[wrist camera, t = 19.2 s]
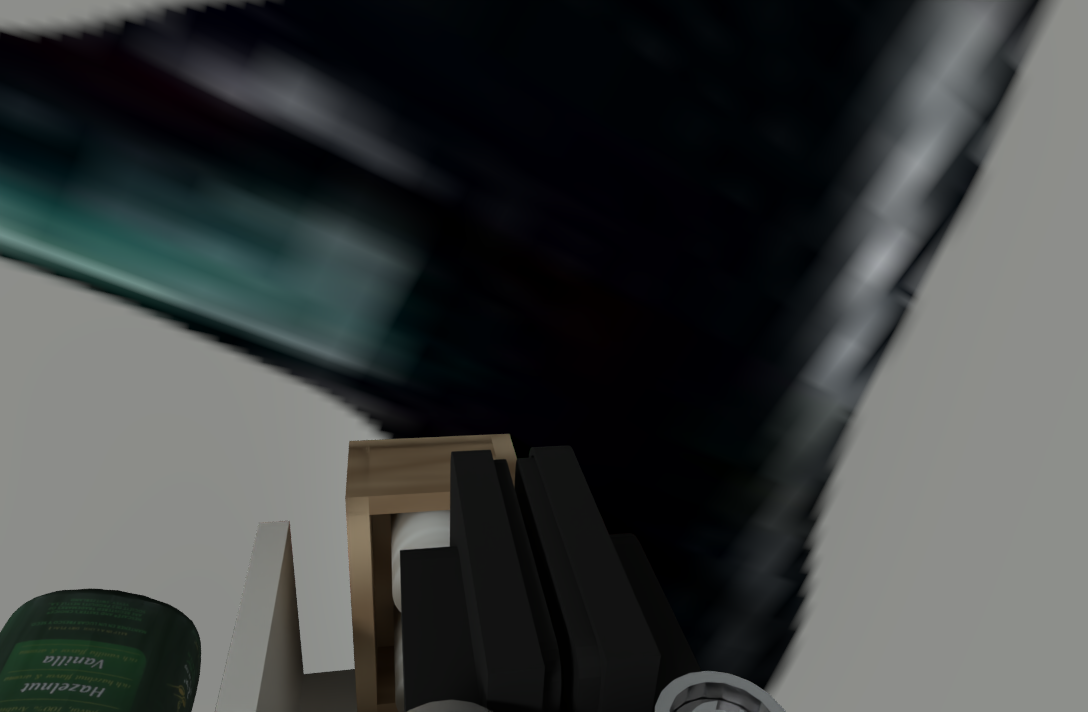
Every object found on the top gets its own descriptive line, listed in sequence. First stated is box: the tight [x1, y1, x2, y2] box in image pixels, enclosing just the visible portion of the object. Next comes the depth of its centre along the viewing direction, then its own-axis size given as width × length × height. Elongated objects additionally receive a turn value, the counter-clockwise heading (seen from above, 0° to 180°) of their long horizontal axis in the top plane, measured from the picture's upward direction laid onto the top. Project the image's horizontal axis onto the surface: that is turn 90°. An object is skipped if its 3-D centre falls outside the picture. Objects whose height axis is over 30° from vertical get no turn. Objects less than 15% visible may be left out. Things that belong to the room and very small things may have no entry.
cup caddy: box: [345, 434, 517, 712], centre depth 32 cm, size 11×6×6 cm, turn 177°
